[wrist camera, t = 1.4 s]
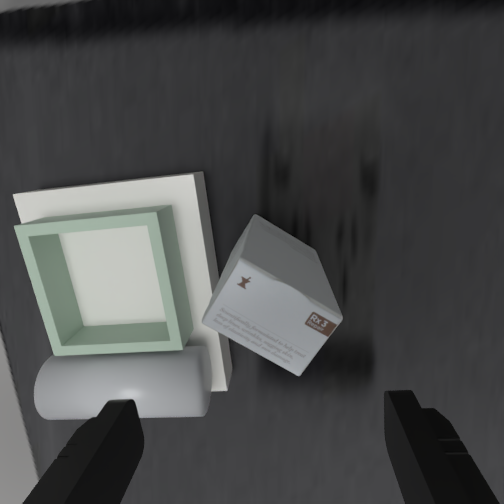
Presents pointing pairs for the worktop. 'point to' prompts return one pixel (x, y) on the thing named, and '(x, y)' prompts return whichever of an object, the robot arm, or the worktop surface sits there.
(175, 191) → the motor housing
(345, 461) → the worktop surface
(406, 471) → the robot arm
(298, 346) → the skincare box
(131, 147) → the worktop surface
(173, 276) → the green piece
